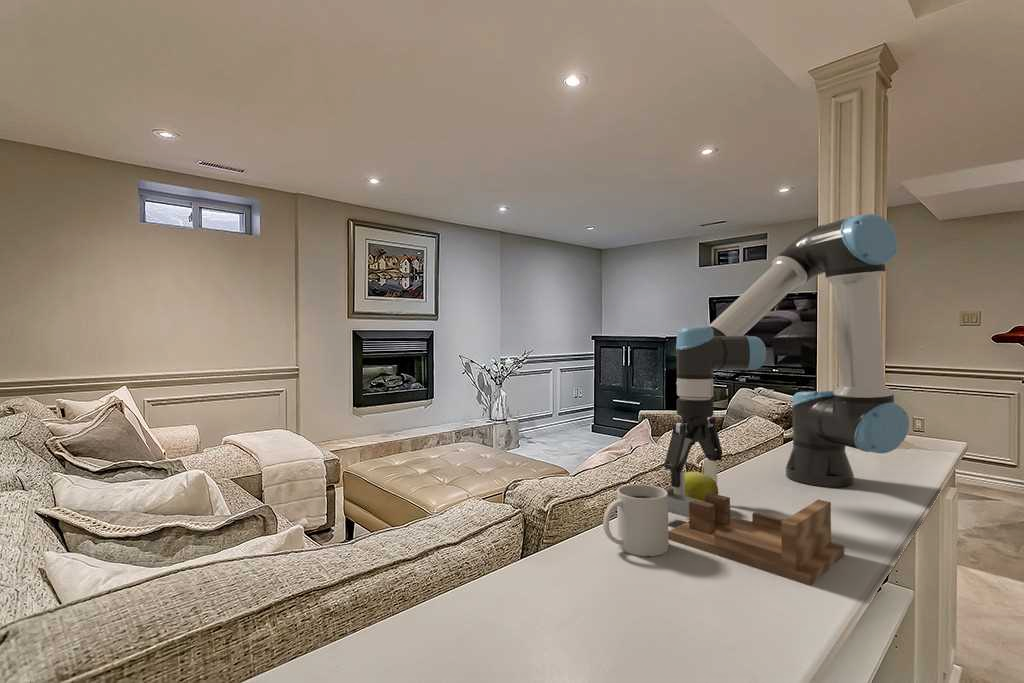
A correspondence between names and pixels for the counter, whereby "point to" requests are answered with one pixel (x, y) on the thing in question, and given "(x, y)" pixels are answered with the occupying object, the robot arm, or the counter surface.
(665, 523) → the mug
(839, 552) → the cradle
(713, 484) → the apple
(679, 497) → the shaft
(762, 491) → the counter surface
